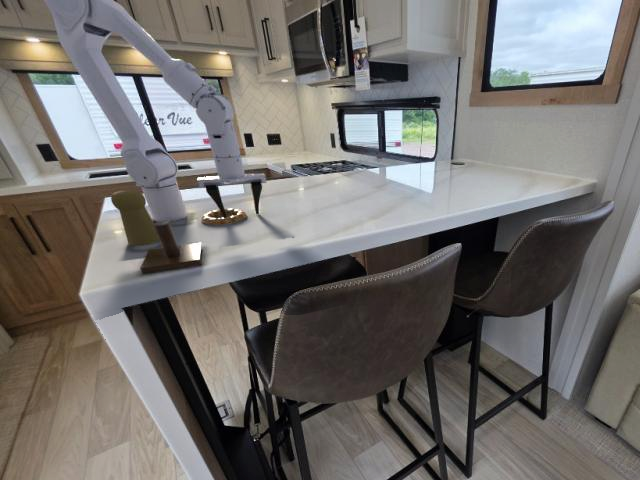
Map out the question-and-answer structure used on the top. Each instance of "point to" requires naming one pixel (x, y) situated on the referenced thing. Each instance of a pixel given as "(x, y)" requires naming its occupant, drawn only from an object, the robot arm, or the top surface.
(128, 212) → the cork
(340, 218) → the top surface
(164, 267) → the holder
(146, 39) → the robot arm
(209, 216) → the ring
